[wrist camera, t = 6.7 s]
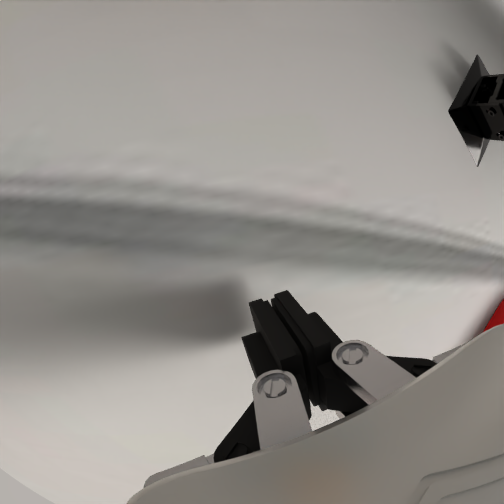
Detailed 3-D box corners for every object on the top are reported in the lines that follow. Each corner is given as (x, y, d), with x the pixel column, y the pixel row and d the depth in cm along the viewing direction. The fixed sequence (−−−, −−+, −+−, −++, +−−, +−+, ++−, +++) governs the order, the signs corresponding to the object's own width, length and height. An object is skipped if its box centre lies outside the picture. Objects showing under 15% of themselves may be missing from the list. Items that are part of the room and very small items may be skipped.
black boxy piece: (469, 33, 12) (511, 26, 8) (507, 103, 15) (546, 104, 11) (418, 118, 13) (480, 116, 9) (465, 201, 16) (516, 215, 12)
